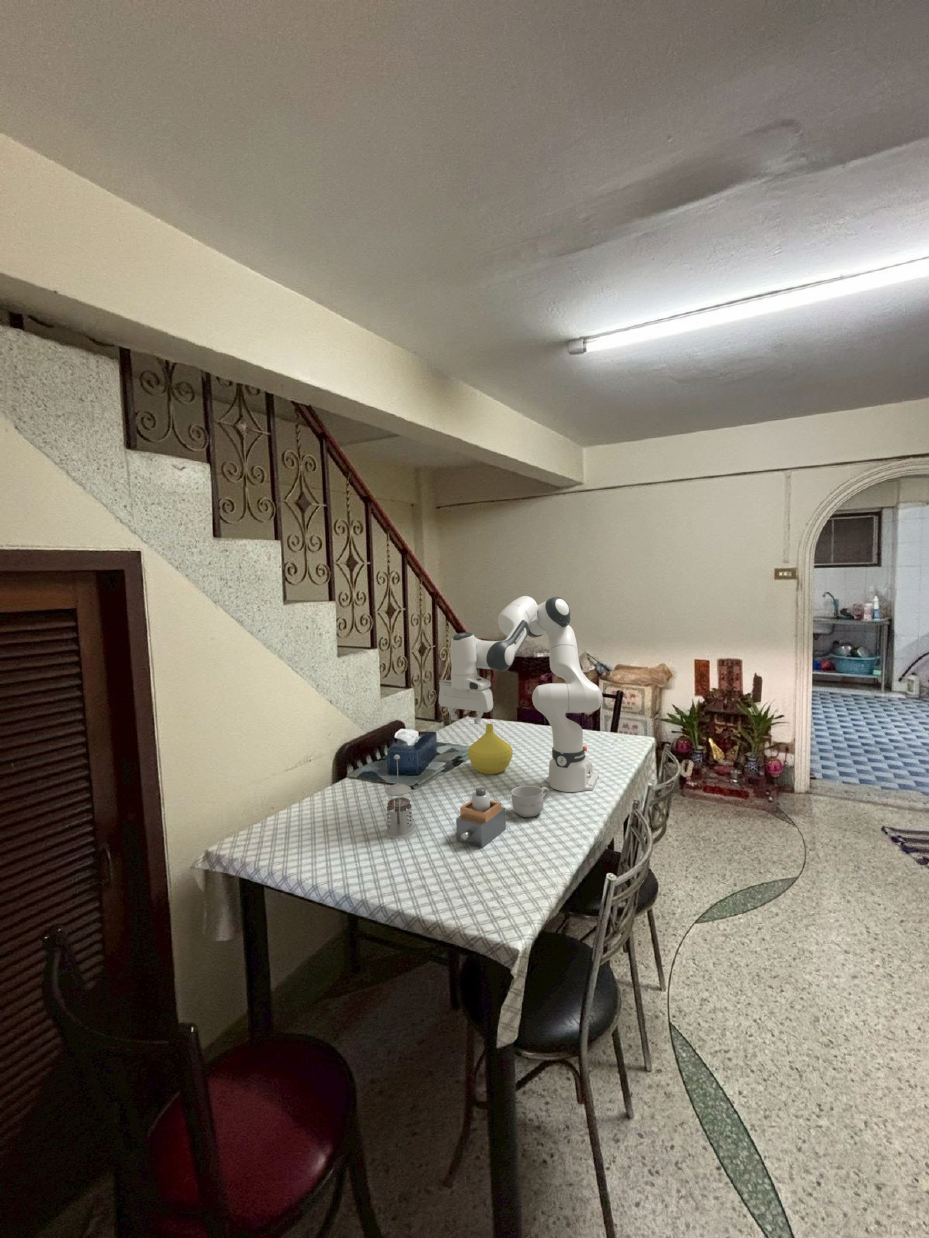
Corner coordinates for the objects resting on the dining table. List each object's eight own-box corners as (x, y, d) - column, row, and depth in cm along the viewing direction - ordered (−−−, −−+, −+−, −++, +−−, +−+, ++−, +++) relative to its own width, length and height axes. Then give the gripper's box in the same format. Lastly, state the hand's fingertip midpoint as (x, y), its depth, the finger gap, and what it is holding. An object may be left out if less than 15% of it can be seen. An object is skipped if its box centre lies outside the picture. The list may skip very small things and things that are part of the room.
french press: (416, 823, 176) (413, 749, 174) (414, 841, 165) (411, 761, 163) (386, 825, 176) (382, 750, 174) (382, 842, 165) (378, 762, 163)
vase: (514, 777, 213) (513, 730, 212) (468, 779, 214) (466, 731, 212) (511, 762, 232) (510, 718, 230) (468, 763, 232) (467, 719, 231)
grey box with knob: (481, 822, 176) (480, 794, 175) (506, 829, 170) (505, 800, 170) (450, 844, 162) (449, 814, 161) (476, 853, 156) (475, 821, 156)
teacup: (518, 822, 175) (517, 798, 174) (507, 809, 185) (506, 786, 185) (558, 816, 179) (557, 792, 178) (544, 803, 189) (544, 781, 188)
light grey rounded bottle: (478, 807, 171) (478, 784, 170) (493, 811, 167) (493, 788, 167) (469, 814, 166) (468, 790, 165) (484, 818, 163) (483, 794, 162)
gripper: (434, 680, 184) (435, 720, 185) (484, 685, 173) (485, 728, 174) (445, 677, 189) (446, 716, 190) (494, 682, 178) (496, 723, 179)
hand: (465, 722), depth 182 cm, fingers open, 8 cm apart
